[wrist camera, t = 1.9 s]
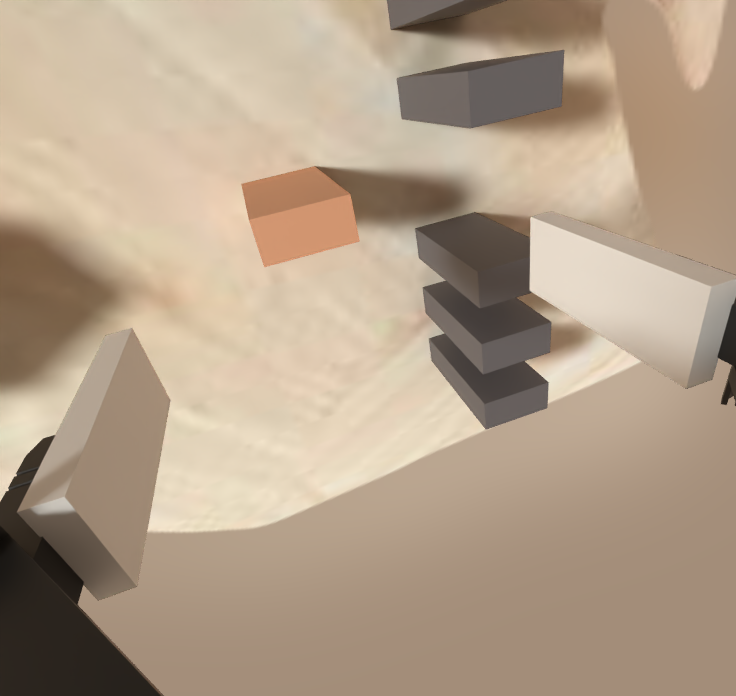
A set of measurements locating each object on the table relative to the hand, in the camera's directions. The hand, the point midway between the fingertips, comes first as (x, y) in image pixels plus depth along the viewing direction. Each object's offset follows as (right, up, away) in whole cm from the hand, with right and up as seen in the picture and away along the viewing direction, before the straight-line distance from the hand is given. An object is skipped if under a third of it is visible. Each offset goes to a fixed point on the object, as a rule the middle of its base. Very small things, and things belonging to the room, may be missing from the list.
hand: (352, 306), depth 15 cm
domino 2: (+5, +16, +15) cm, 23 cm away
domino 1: (-5, +9, +16) cm, 19 cm away
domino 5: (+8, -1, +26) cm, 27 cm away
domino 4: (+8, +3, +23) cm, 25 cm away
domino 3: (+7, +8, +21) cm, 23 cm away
